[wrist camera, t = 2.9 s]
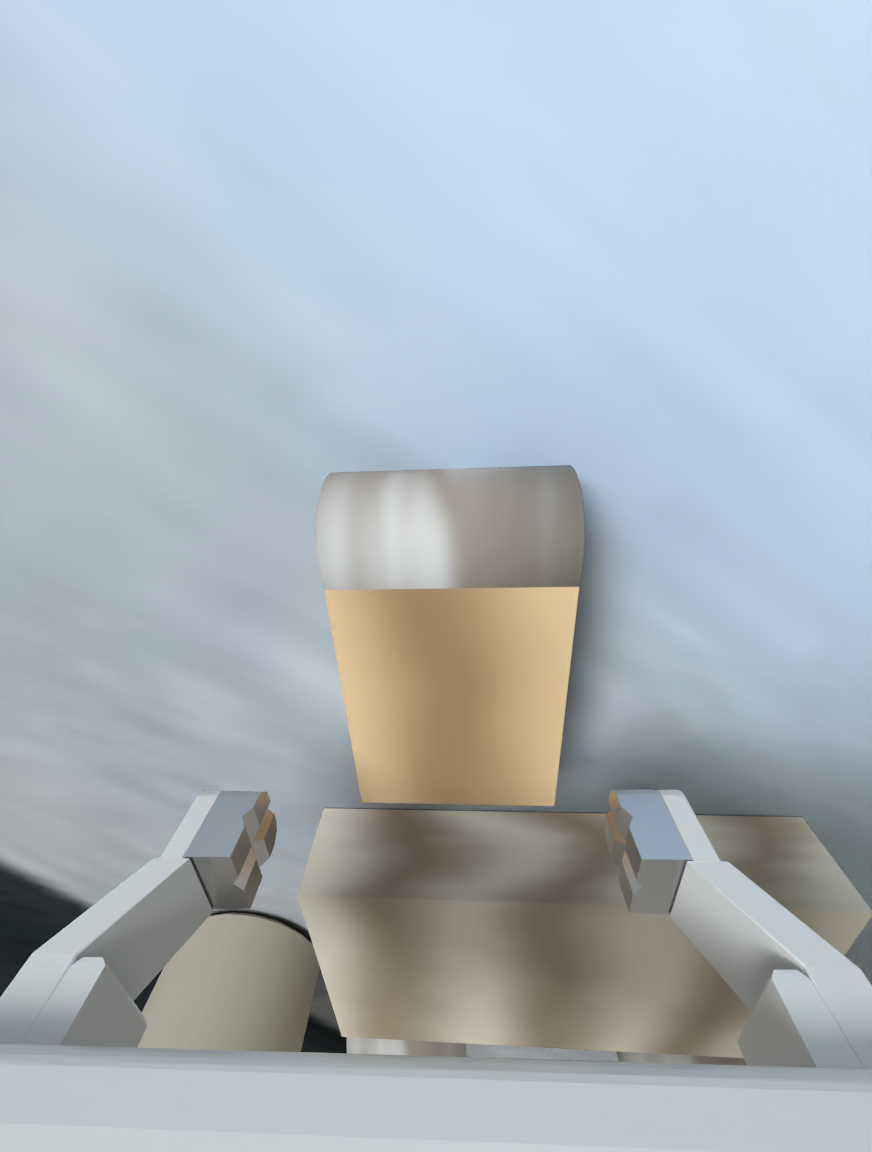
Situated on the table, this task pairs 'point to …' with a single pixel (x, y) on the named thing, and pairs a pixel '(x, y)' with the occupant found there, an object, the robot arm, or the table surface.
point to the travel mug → (234, 988)
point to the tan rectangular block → (453, 627)
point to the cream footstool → (536, 933)
